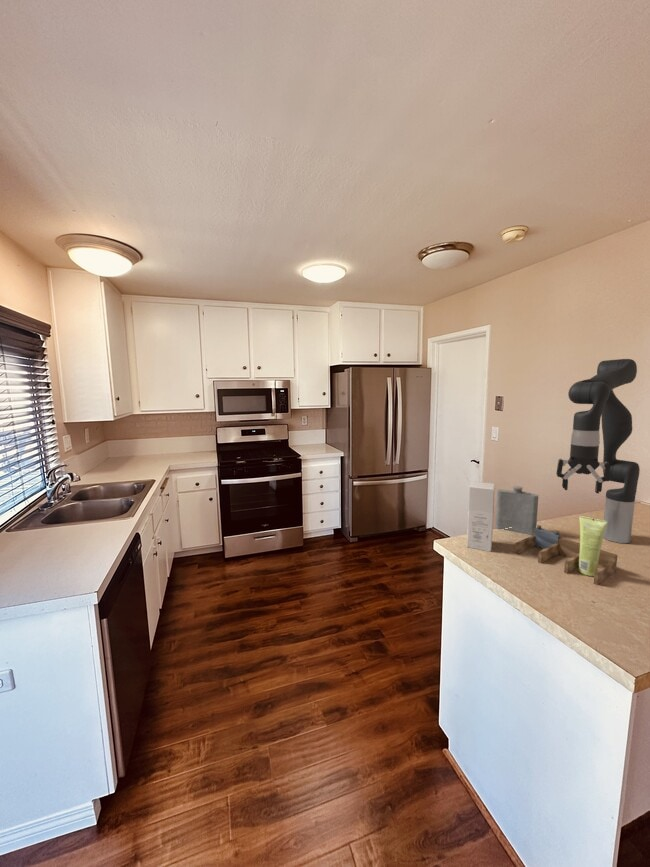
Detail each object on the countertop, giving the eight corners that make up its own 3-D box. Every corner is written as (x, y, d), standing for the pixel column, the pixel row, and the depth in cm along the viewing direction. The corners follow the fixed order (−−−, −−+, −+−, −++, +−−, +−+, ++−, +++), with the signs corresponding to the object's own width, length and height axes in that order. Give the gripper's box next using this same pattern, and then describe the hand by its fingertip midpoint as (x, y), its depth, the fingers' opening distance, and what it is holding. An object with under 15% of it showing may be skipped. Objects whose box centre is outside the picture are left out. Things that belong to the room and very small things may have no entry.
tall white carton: (492, 543, 145) (495, 483, 141) (490, 551, 137) (494, 489, 134) (469, 538, 149) (471, 481, 145) (466, 547, 141) (469, 486, 138)
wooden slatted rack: (535, 543, 144) (536, 524, 143) (616, 571, 121) (618, 548, 120) (514, 552, 136) (515, 532, 135) (597, 584, 113) (599, 560, 112)
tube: (590, 568, 123) (595, 515, 121) (602, 576, 118) (607, 520, 116) (574, 569, 123) (579, 515, 121) (586, 577, 118) (591, 521, 116)
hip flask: (494, 528, 159) (496, 485, 157) (496, 525, 163) (498, 483, 160) (535, 536, 151) (538, 490, 148) (536, 533, 154) (539, 488, 151)
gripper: (609, 443, 116) (605, 490, 118) (557, 440, 123) (554, 485, 125) (614, 446, 109) (610, 497, 112) (560, 443, 116) (556, 491, 118)
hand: (581, 491), depth 118 cm, fingers open, 8 cm apart
